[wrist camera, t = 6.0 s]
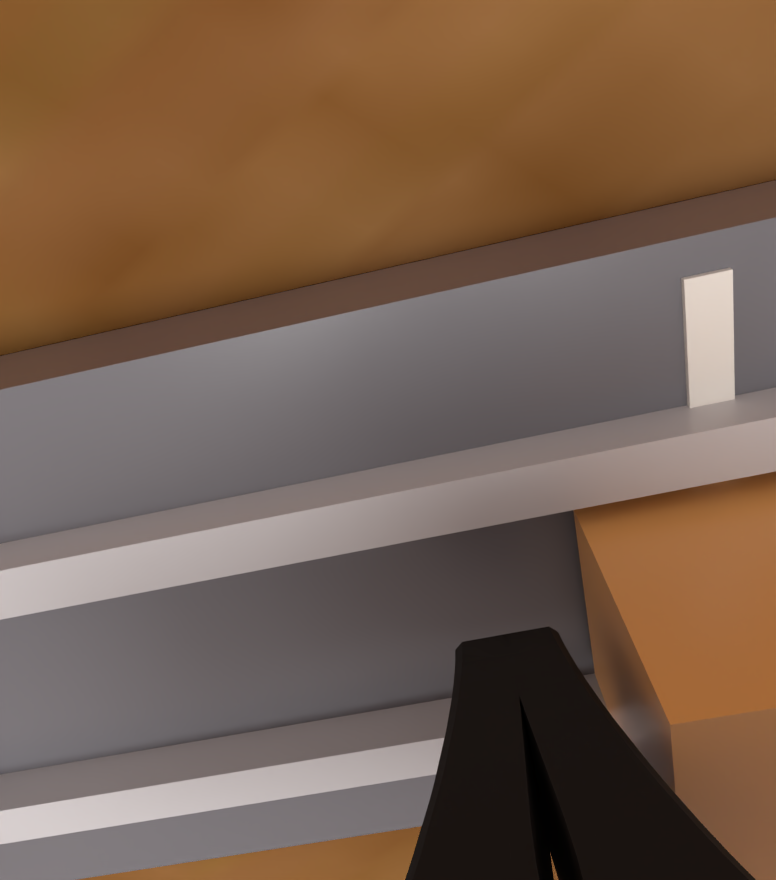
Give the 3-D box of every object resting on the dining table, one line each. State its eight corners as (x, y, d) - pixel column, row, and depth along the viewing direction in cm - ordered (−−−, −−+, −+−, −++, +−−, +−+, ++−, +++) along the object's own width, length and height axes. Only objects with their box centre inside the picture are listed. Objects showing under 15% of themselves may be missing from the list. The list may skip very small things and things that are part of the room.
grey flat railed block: (1180, 88, 10) (1525, 90, 7) (1053, 635, 14) (1235, 783, 11) (-272, 417, 12) (-493, 529, 9) (-3, 810, 16) (-90, 975, 13)
